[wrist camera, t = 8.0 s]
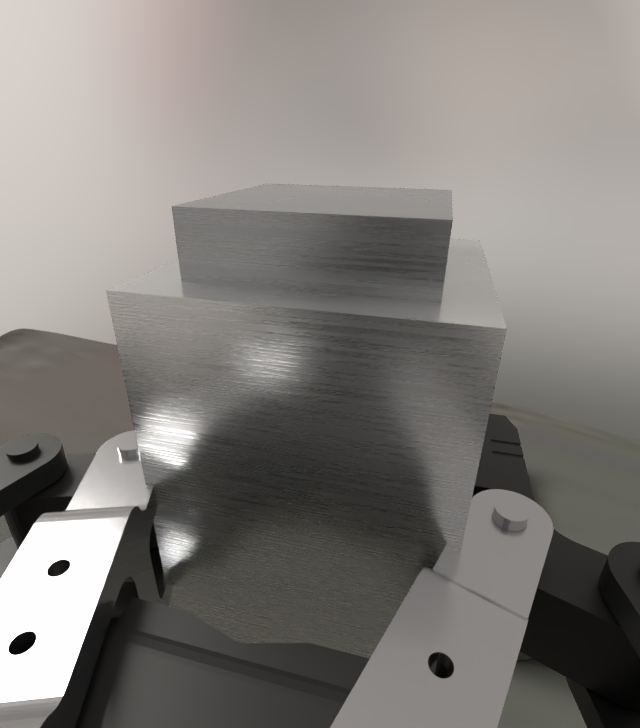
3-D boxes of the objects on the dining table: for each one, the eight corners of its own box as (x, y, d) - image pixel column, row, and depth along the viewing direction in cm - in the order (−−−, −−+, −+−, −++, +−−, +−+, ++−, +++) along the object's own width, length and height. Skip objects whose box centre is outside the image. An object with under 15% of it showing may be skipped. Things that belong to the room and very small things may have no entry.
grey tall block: (196, 736, 11) (90, 211, 6) (269, 566, 15) (247, 179, 10) (408, 804, 10) (526, 233, 4) (421, 600, 14) (488, 187, 9)
